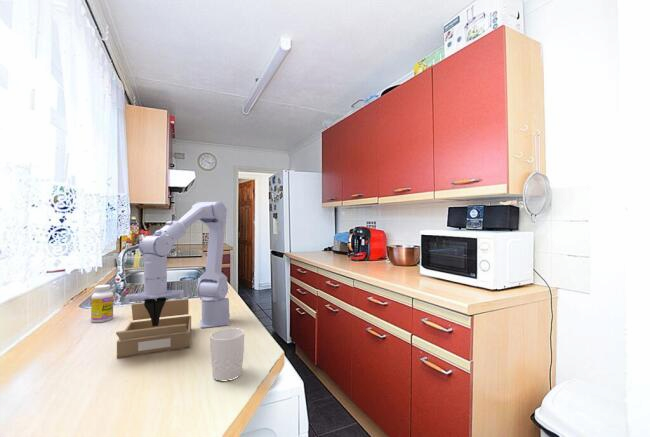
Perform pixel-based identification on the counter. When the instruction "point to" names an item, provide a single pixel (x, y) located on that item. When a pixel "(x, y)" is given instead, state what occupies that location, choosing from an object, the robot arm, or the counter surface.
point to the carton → (155, 338)
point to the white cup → (227, 353)
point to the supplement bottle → (102, 304)
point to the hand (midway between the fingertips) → (155, 325)
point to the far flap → (168, 309)
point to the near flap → (151, 331)
